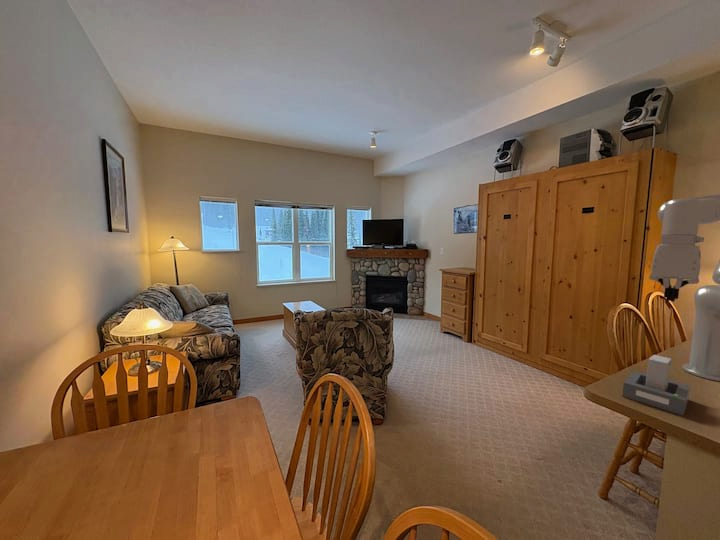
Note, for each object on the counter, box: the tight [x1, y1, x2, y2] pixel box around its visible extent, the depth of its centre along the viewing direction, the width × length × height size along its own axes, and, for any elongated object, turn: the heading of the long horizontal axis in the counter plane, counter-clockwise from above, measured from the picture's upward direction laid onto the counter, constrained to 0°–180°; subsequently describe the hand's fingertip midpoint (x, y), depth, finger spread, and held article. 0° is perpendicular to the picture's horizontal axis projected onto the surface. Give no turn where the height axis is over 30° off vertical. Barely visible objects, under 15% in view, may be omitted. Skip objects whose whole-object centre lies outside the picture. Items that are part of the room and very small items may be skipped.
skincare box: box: [645, 354, 673, 392], centre depth 93 cm, size 6×4×12 cm
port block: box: [621, 370, 691, 416], centre depth 93 cm, size 13×13×5 cm
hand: (670, 300), depth 95 cm, fingers closed
